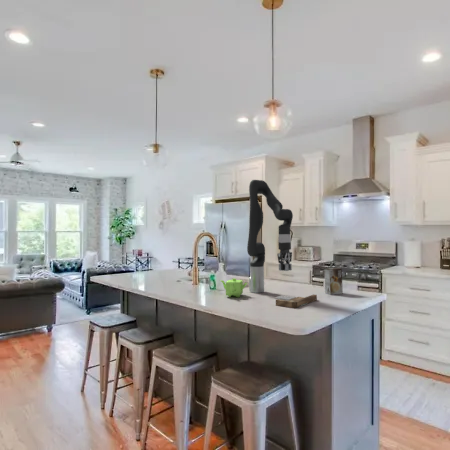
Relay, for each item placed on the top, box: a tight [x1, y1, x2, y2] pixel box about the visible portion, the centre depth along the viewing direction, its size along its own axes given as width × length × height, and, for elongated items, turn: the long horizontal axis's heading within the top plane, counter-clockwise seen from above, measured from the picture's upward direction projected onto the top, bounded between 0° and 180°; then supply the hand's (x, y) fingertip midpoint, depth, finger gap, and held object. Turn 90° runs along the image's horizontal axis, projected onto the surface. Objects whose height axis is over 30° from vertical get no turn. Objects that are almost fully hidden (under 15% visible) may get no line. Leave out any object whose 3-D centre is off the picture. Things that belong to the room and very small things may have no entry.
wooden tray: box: [275, 294, 318, 309], centre depth 192 cm, size 12×26×3 cm, turn 140°
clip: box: [278, 262, 293, 272], centre depth 206 cm, size 6×5×4 cm
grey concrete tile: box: [274, 294, 296, 300], centre depth 206 cm, size 10×8×1 cm
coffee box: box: [323, 267, 343, 296], centre depth 218 cm, size 9×6×16 cm
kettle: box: [219, 277, 248, 298], centre depth 216 cm, size 15×14×11 cm
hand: (285, 269), depth 206 cm, fingers closed on clip, 5 cm apart
